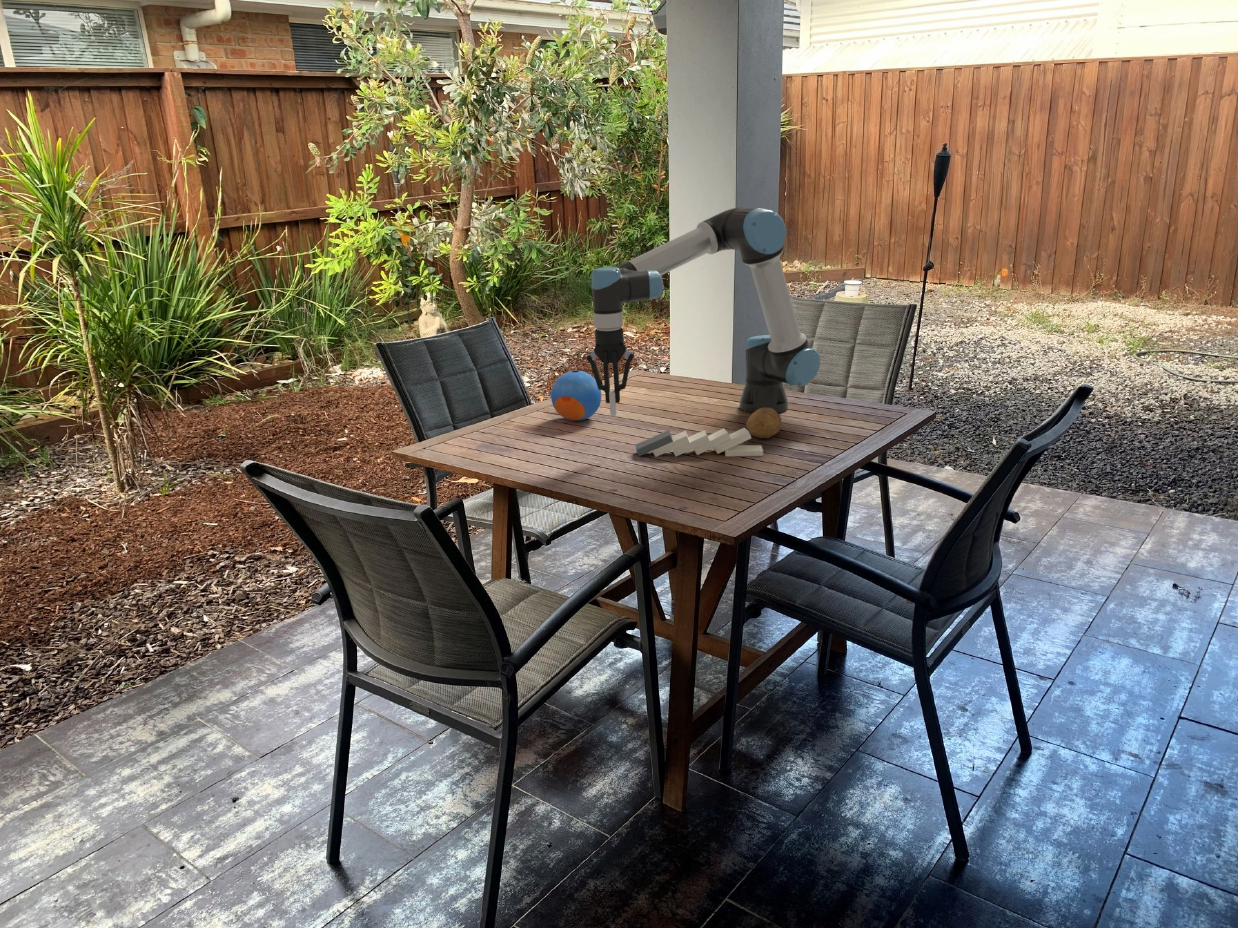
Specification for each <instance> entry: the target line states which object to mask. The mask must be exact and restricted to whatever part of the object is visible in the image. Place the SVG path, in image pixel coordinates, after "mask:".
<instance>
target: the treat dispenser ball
mask: <svg viewBox="0 0 1238 928" xmlns="http://www.w3.org/2000/svg"><path fill="white" fill-rule="evenodd" d="M602 395H603V394H602V390H599V389H598V387H597V383H596V380H595V377H594V376H593V375H591V374H590V373H587V372H586V371H582V370H570V371H567V372H565V373H563V374H561V375H560V376H558V377H557V379H556V380H555V382H554V384H553V385H552V388H551V393H550V399H551V403H552V406H553V408H554V410H555V411H556V413H557V414H558V415H559V416H561V417H563V418H564V419H566V420H569V421H571V422H580V421H584V420H587V419H589V418H592V416H594V415H595V413H597V412H598V410H599V407H600V406H601V403H602Z"/></svg>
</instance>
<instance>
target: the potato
mask: <svg viewBox="0 0 1238 928" xmlns="http://www.w3.org/2000/svg"><path fill="white" fill-rule="evenodd" d="M745 424H746V428H747V429H746V430H748V431H749V433H750V435H753V437H756V438H759V439H770V438H771V437H773V436H775V435H776V434H778V433H779V431H780V429H781V427H782V416H780V413H777V412H776V411H775V410H774V409H772V408H760V409H758V410H756V411H755V412H754V413H751V415H750V416H749V417H748V418H747V421H746V423H745Z"/></svg>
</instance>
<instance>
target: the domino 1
mask: <svg viewBox="0 0 1238 928" xmlns="http://www.w3.org/2000/svg"><path fill="white" fill-rule="evenodd" d="M672 436H673V435H672V434H671V431H670V429H668V430H666V431H664V432H661V433H659V434H657V435H655V436H652V437H649V438H648V439H646V440H643V441H641V442H639V443H636V444H635V451H636V453H637V455H638V456H639V457H641V456H643V455H646V454H648V453H651V452H653V450H655V449H657V448H660V447H662V446H664V445H666V444H669V443H671V442H673V439H672Z"/></svg>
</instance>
